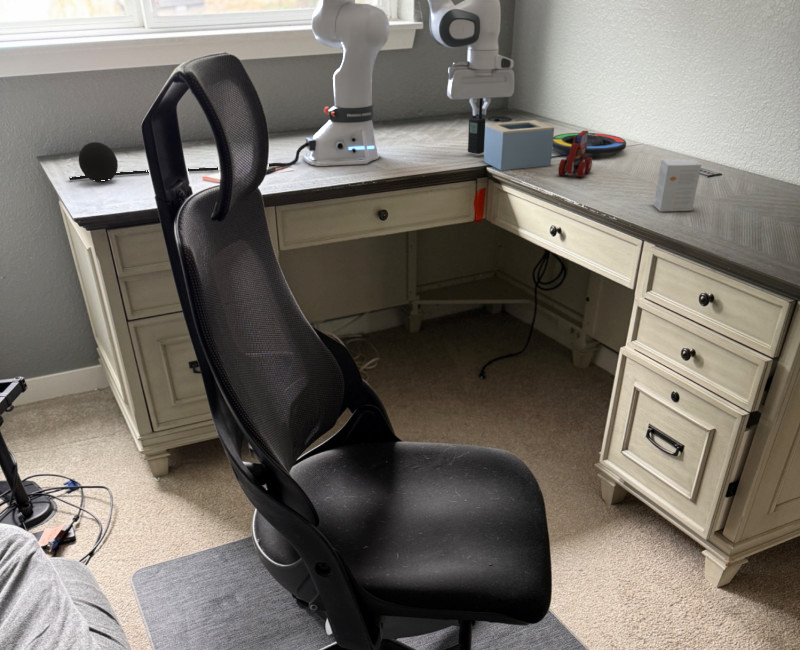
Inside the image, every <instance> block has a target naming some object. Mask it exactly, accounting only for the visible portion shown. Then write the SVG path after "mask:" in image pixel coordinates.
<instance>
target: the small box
mask: <svg viewBox="0 0 800 650" xmlns="http://www.w3.org/2000/svg"><path fill="white" fill-rule="evenodd" d="M701 169H702V164H701V163H700V162H699V161H697V160H696V159H694V158H684V159H683V158H681V159H678V158H677V159H661V161H660V167H659V173H658V178H657V184H656V190H655V195H654V201H653V206H654V208H656V209H657V210H658V211H659V212H660V213H661V212H663V213H664V212H691V211H693V209H694V205H695V200H696V194H697V189H698V184H699V178H700V175H701Z"/></svg>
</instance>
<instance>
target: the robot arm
mask: <svg viewBox="0 0 800 650" xmlns="http://www.w3.org/2000/svg"><path fill="white" fill-rule="evenodd" d="M426 1H427V6H428V10H429V18H428V21H429V22H428V27H429V29H428V30H429V34H430V36H431V38H432V39H433V41H434V42H435V43H436V44H437V45H439V46H441V47H446V48H449V49H459V48H462V47H465V46H467V54H466V61H455V62H453V63H452V64H451V65H450V66H449V67H448V71H447V72H448V74H447V77H448V80H447V87H446V89H447V90H446V95H447V97H448V98H449V99H451V100H453V101H454V100H469V104H470V107H471V108H472V116H473V115H474V116H476V117H479V112H480V109H479V108H478V107H477V105H476V103H478V99H480V98H483V99H482V102H483V104H482V116H487V109H488V107H489V105H490V103H491V101H492V98H511V97H512V96H513V95H514V92H515V72H514V70H513V69H512V68H514V65H515V61H514V60H513V59H512V58H510V57H507V56H504V55H502V54H499V52H500V51H499V50H500V49H499V47H500V46H499V35H500V33H501V17H502V16H501V2H500V0H463V1H461V2H459V3H457V4H454V2H453V1H452V0H426ZM389 21H390V20H389V18H388V15H387V14H386V12H385V11H384V10H383V9H381V8H379V7H377V6H375V5H372V4H369V3H357V2H356V0H320V1H319V4H318V6H317V7H316V9H315V10H314V11H313V14H312V18H311V29H312V33H313V35H314V38H315V39H316V41H317V42H318V43H320V44H322V45H324V46H326V47H329V48H331V49H336V50H337V49H338V50H343V55H342V56H343V57H342V61H341V64H340V66H339V67H338V68H337V69H336V70H335V72H334V73H333V77H332V82H333V83H332V84H333V85H332V86H333V103H334V104H333V106H332V107H329V106H324V108H323V112H324V114H325V115H327V116H328V121H327V122H326V123H325V124H324V125H323V126H322V127H321V128H320V129H318V131H317V132H316V133H314V135H313V136H312V137H306V138H305V143H303V144H302V145H300V146H299V147H298V149H297V150H296V152H295V157H294V159H293V160H291V161H290V162H269V163H268V164H269V167H268V168H273V167H285V166H290V165H295V164H296V163H297V162H298V161H299V158H300V153H301V151H303V150H304V149H305V148H307V149H308V151H310V152H308V153H306V154H305V155H304V162H306V163H307V164H309V165H311V166H316V167H327V166H330V167H331V166H349V165H351V166H352V165H367V164H369V163H371V162H372V161H375V160H378V159H379V157H380V155H379V151H378V148H377V144H376V137H375V130H374V128H375V127H374V126H375V109H374V104H373V71H374V66H375V62H376V59H377V57H378V54H379V52H380V51H381V49H383V47H384V46H385V45H386V43H387V42H388V39H389V36H390V22H389ZM216 167H217V168H205V167H198V168H199V169H189V168H190V167H187V168H188V171H189V173H191V172H215V171H218V172H219V170H218V167H219V166H216ZM144 170H145V171H137V170H132V171H133V172H123V171H119V172H120V173H116V175H115V176H114V177H117V176H127V175H144V174H150V173H149V172H148V170H149V169H144ZM146 170H147V172H146ZM76 176H77V175H76ZM76 176H74V175H73V176H69V177H68V179H69V182H70V181H79V180H87V179H88V180H89V178H88V177H86V176H82V175H79V176H80V177H76ZM70 177H72V178H70Z"/></svg>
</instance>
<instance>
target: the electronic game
mask: <svg viewBox="0 0 800 650" xmlns="http://www.w3.org/2000/svg"><path fill="white" fill-rule="evenodd" d="M579 133H580V132H567V133H561V134H557V135H554V136H553V146H552V149H554V150H555V151H556V152H557V153H559V154H560V155H563V156H566V157H567V156H568V155H569V153H570V149H571V145H572V143H574V142H575V141H573V139H574V137H575V136H576V135H578V134H579ZM626 148H627V141H626V139H624V138H622V137H620V136H616V135H612V134H606V133H597V132H588V139H587V144H586V151H585V157H584V159H586V158H587V157H589V158H592V159H603V158H609V157H614V156H616V155H617V154H619V153H620V152H623V150H625V149H626Z"/></svg>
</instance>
